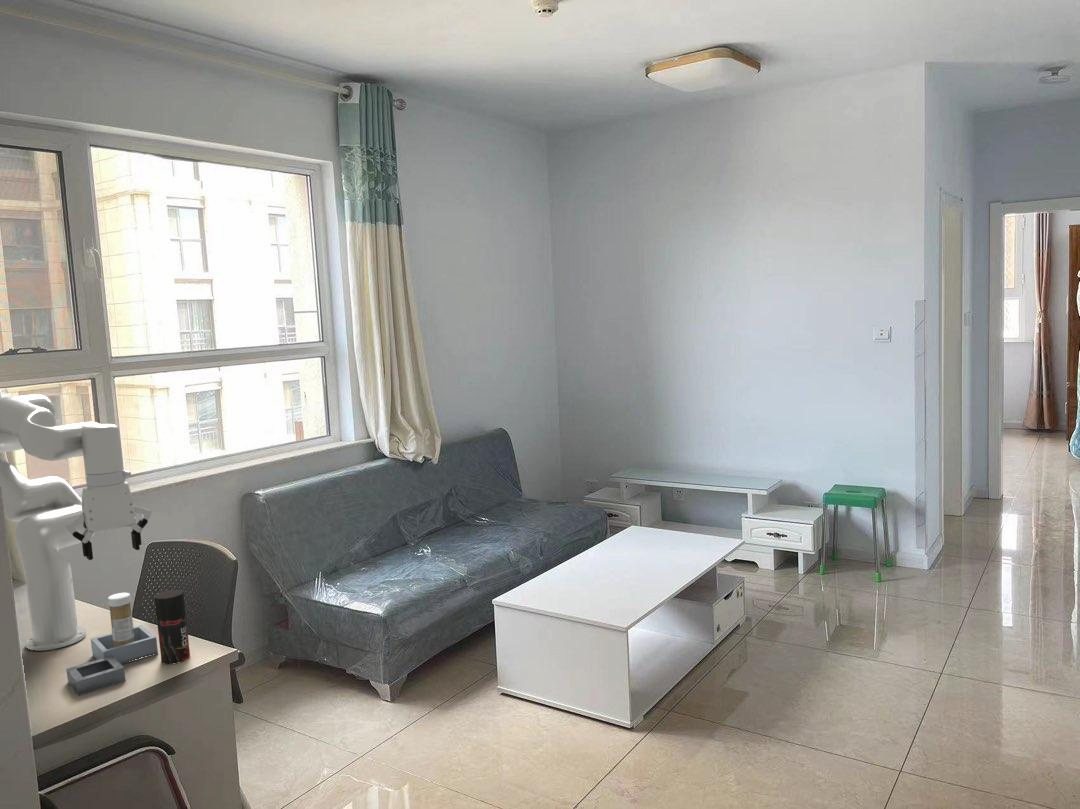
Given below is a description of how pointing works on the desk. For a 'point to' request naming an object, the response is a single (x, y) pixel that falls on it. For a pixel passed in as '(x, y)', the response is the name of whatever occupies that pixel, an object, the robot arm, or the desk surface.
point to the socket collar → (95, 675)
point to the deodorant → (172, 626)
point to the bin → (125, 646)
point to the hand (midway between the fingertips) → (113, 553)
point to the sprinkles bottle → (121, 619)
